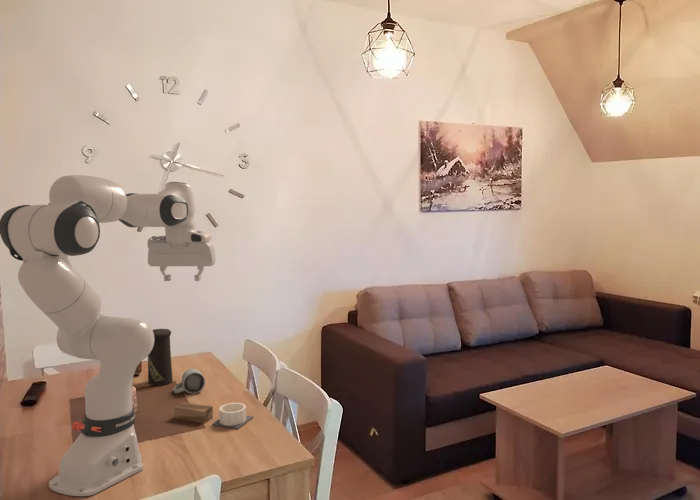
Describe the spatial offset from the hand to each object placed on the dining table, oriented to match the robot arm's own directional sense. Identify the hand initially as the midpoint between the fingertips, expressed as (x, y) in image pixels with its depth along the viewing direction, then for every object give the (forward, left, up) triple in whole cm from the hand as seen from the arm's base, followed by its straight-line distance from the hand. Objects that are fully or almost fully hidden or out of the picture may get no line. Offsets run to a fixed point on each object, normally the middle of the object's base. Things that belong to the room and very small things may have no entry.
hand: (182, 280), depth 169 cm
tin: (+30, +47, -44) cm, 71 cm away
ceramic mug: (+19, +14, -44) cm, 50 cm away
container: (+24, +29, -44) cm, 58 cm away
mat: (+2, -16, -43) cm, 46 cm away
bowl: (+2, -16, -43) cm, 46 cm away
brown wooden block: (0, -3, -44) cm, 44 cm away
